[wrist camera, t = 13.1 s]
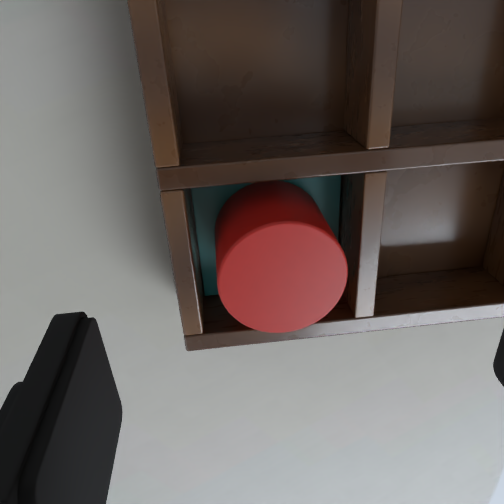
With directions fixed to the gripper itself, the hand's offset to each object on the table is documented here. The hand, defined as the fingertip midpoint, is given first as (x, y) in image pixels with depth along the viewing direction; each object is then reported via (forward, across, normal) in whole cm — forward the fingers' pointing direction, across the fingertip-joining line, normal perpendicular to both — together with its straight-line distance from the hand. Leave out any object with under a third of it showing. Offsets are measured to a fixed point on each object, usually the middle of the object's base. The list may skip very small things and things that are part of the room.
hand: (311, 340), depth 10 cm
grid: (+8, -3, -2) cm, 9 cm away
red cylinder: (+7, 0, +1) cm, 7 cm away
